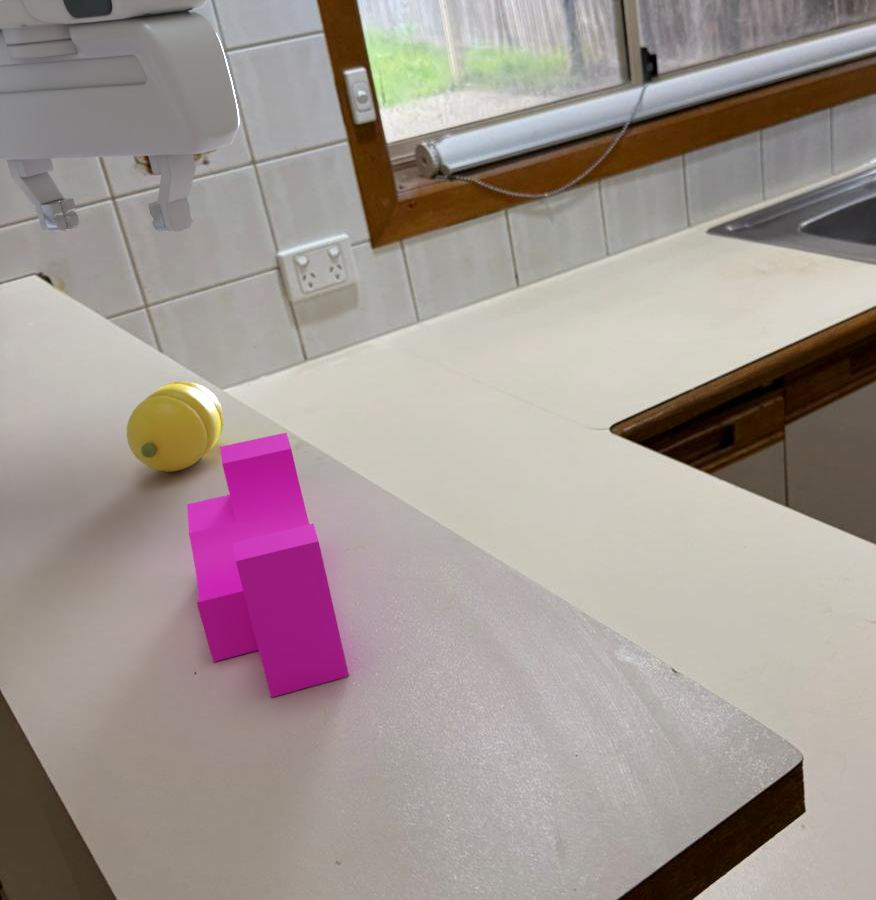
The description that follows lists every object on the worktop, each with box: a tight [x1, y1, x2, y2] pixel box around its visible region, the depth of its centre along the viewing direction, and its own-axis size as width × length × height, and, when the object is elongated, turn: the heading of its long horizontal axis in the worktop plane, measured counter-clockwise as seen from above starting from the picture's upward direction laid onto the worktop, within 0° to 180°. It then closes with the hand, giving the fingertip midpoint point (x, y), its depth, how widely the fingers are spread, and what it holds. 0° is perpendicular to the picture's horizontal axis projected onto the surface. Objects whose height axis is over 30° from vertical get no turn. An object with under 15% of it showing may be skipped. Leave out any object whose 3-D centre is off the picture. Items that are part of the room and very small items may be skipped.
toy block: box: [186, 432, 350, 698], centre depth 60 cm, size 15×6×8 cm, turn 20°
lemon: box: [126, 380, 225, 473], centre depth 82 cm, size 10×6×6 cm, turn 174°
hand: (117, 229), depth 71 cm, fingers open, 8 cm apart
